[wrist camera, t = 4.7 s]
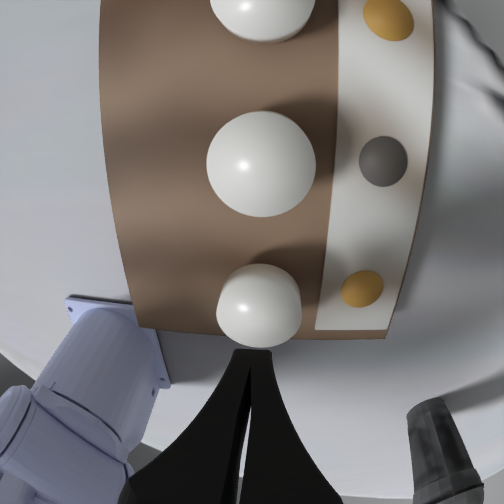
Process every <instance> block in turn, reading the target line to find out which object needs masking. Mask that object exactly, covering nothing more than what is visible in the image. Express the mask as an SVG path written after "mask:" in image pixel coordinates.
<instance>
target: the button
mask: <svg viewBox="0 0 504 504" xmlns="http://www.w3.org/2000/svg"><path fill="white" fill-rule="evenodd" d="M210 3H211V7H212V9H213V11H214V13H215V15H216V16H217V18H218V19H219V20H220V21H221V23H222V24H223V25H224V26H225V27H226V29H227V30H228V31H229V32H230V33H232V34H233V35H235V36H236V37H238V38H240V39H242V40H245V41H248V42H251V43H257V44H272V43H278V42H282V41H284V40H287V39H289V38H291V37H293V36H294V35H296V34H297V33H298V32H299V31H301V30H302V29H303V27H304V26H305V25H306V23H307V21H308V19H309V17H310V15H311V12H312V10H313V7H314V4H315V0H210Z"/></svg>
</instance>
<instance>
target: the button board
mask: <svg viewBox="0 0 504 504" xmlns="http://www.w3.org/2000/svg"><path fill="white" fill-rule="evenodd" d="M99 88H100V108H101V122H102V134H103V145H104V154H105V163H106V171H107V178H108V185H109V192H110V199H111V205H112V211H113V217H114V222H115V228H116V233H117V238H118V243H119V248H120V253H121V257H122V262H123V266H124V271H125V275H126V279H127V284H128V288H129V292H130V296H131V299H132V303H133V307H134V311H135V314H136V318H137V321H138V325H139V327H141V328H149V329H157V330H166V331H176V332H186V333H197V334H208V335H221V336H227V335H226V334H225V333H224V332H223V330H222V329H221V328H220V326H219V324H218V321H217V316H216V310H217V305H218V302H219V298H220V294H221V291H222V287H223V284H224V282H225V280H226V279H227V278H228V276H229V275H230V274H231V273H232V272H234V271H235V270H237V269H239V268H241V267H243V266H246V265H250V264H269V265H273V266H276V267H279V268H281V269H283V270H284V271H286V272H287V273H288V274H290V275H291V276H292V277H293V278H294V280H295V281H296V283H297V285H298V287H299V290H300V298H301V310H302V321H301V325H300V327H299V329H298V331H297V332H296V333H295V335H294V336H292V337H291V338H290V339H314V340H354V339H385V337H386V334H387V332H388V329H389V326H390V323H391V320H392V317H393V314H394V311H395V307H396V304H397V301H398V298H399V294H400V291H401V288H402V284H403V281H404V277H405V274H406V270H407V266H408V262H409V258H410V254H411V250H412V246H413V242H414V238H415V233H416V229H417V224H418V219H419V214H420V209H421V204H422V199H423V193H424V187H425V181H426V175H427V168H428V161H429V153H430V145H431V136H432V125H433V113H434V96H435V25H434V10H433V0H315V4H314V7H313V10H312V12H311V15H310V17H309V19H308V21H307V23H306V25H305V26H304V27H303V29H302V30H301V31H299V32H298V33H297V34H296V35H294V36H293V37H291V38H289V39H287V40H284V41H282V42H278V43H272V44H257V43H251V42H248V41H245V40H242V39H240V38H238V37H236V36H235V35H233V34H232V33H230V32H229V31H228V30H227V29H226V27H225V26H224V25H223V24H222V23H221V21H220V20H219V19H218V18H217V16H216V15H215V13H214V11H213V9H212V7H211V3H210V0H101V5H100V24H99ZM261 110H265V111H272V112H277V113H280V114H282V115H284V116H286V117H288V118H290V119H291V120H293V121H294V122H295V123H296V124H297V125H298V126H299V127H300V128H301V129H302V131H303V132H304V133H305V135H306V136H307V138H308V139H309V141H310V143H311V145H312V147H313V151H314V154H315V160H316V171H315V177H314V180H313V183H312V186H311V188H310V190H309V191H308V193H307V195H306V196H305V197H304V198H303V200H302V201H301V202H300V203H299V204H297V205H296V206H295V207H293V208H292V209H290V210H288V211H287V212H284V213H282V214H279V215H275V216H270V217H253V216H249V215H245V214H242V213H239V212H237V211H235V210H233V209H232V208H230V207H229V206H227V205H226V204H225V203H224V202H223V201H222V200H221V199H220V198H219V197H218V196H217V194H216V193H215V191H214V190H213V188H212V186H211V184H210V181H209V178H208V174H207V167H206V164H207V154H208V150H209V147H210V144H211V142H212V140H213V138H214V137H215V135H216V134H217V132H218V131H219V130H220V129H221V128H222V127H223V126H224V125H225V124H227V123H228V122H230V121H231V120H233V119H235V118H237V117H239V116H241V115H243V114H245V113H248V112H252V111H261Z"/></svg>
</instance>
